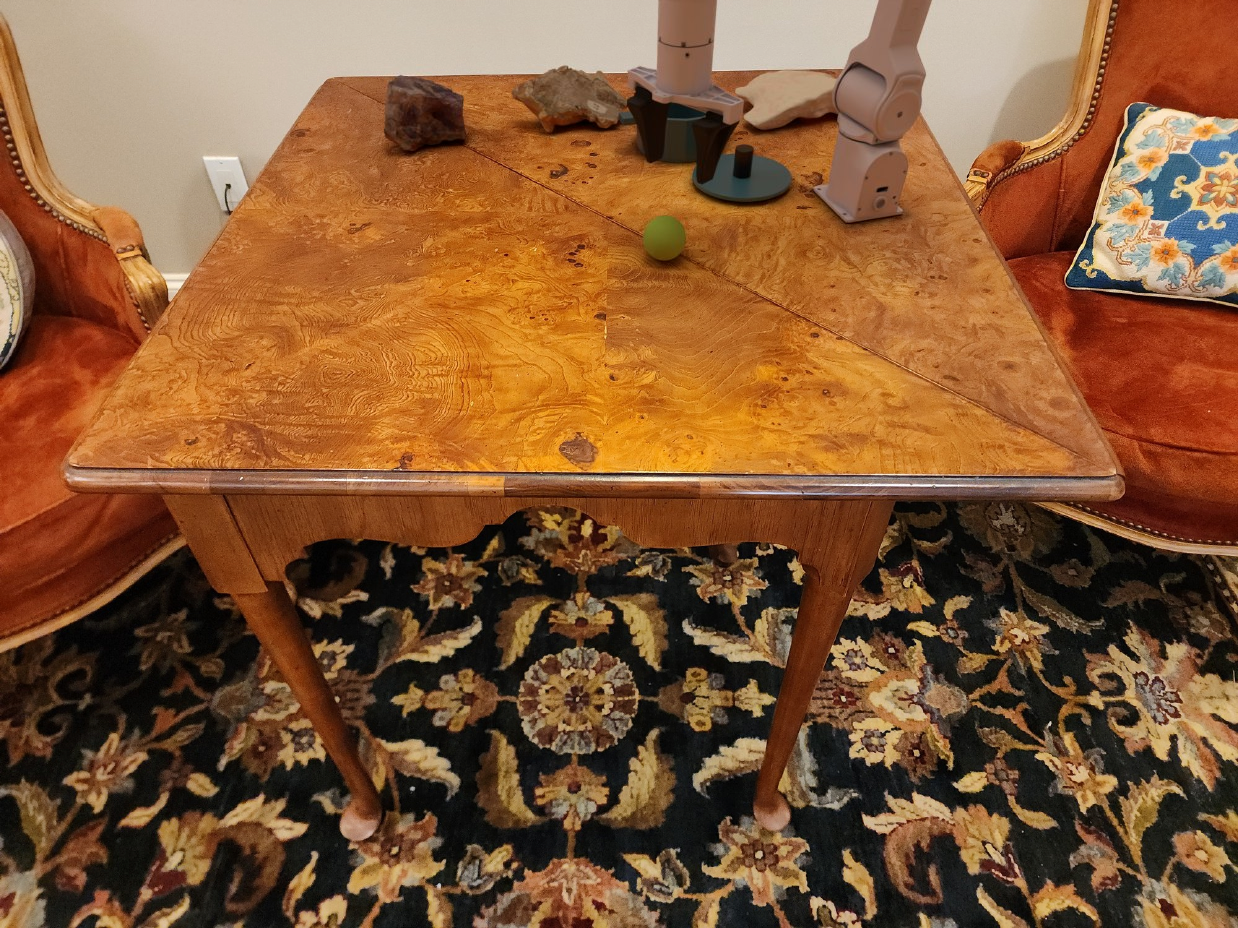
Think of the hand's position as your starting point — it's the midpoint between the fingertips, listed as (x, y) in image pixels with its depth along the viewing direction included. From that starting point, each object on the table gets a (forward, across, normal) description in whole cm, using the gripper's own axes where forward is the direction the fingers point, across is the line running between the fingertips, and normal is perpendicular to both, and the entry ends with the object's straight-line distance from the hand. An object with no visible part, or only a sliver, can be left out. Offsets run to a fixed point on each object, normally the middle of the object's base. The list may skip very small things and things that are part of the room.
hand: (679, 170), depth 86 cm
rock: (+9, -46, -4) cm, 47 cm away
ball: (+6, +2, -4) cm, 8 cm away
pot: (+9, -18, +21) cm, 28 cm away
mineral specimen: (+9, -35, +16) cm, 40 cm away
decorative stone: (+9, -13, +43) cm, 46 cm away
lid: (+8, -4, +17) cm, 19 cm away
